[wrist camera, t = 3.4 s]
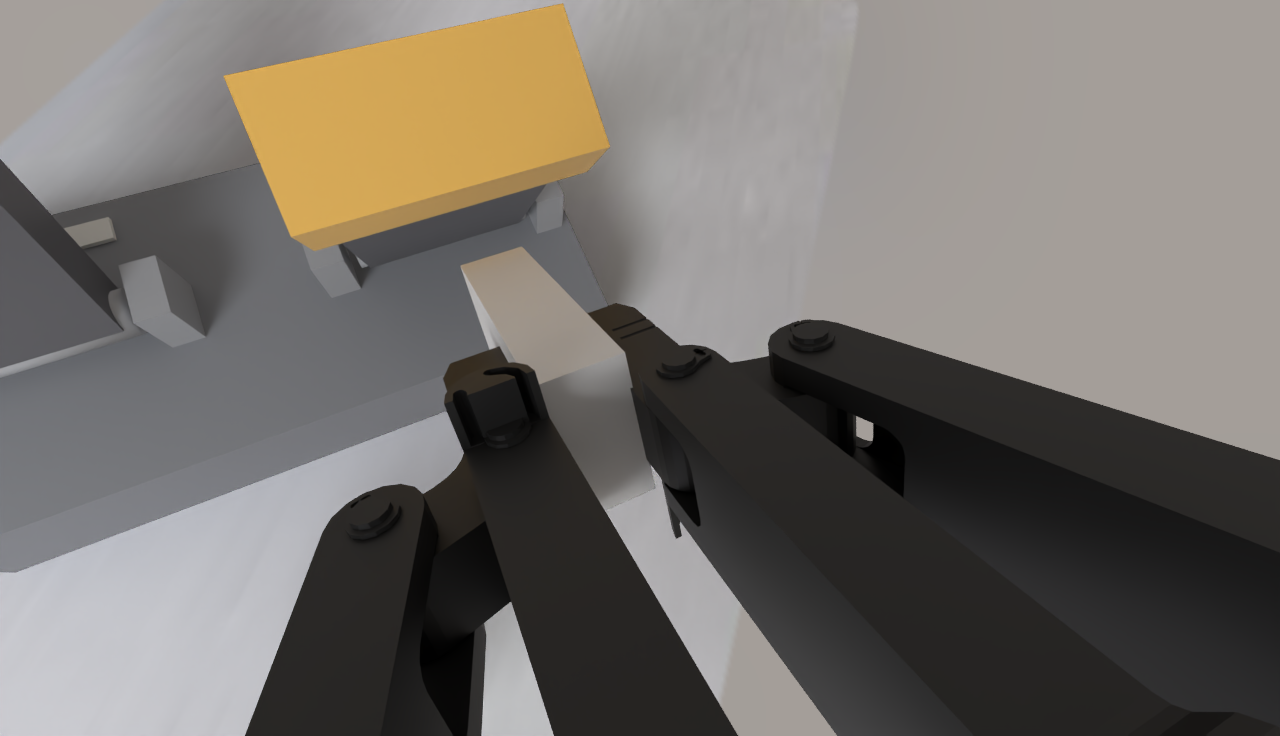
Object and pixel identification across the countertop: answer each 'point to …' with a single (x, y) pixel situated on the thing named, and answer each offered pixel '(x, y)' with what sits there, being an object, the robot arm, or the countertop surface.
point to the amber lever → (422, 133)
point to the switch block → (237, 357)
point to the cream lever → (50, 288)
